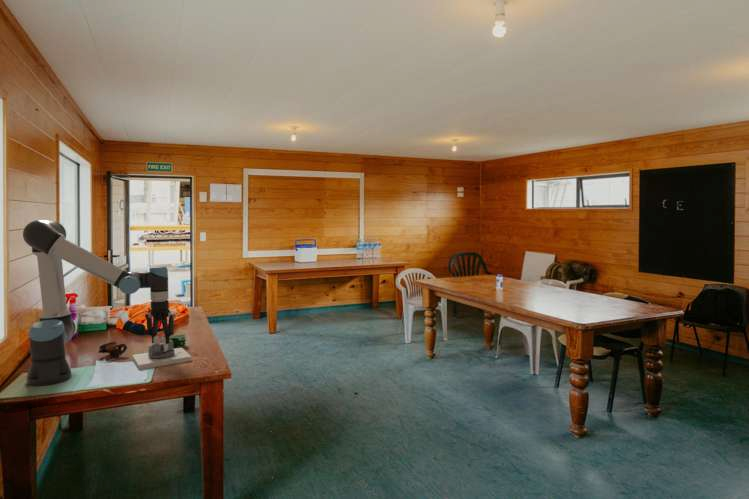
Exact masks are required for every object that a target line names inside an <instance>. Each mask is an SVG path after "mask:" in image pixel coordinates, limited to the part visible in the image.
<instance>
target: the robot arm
mask: <svg viewBox="0 0 749 499" xmlns="http://www.w3.org/2000/svg"><path fill="white" fill-rule="evenodd" d="M22 237H23V238H22V239H23V240H24V243H26V244H27V245H28V246H29V247H31V253H32V254H33V255H35V256H36V259H37V268H38V279H39V286H40V288H39V289H40V296H41V305H42V313H41V314H40V315H39V317H38V319H39V321H36V322H35V323H33V324H32V325H30V326H29V331H28V337H29V353H30V365H29V367H28V368H29V369H28V371H27V374H26V384H27V385H29V386H35V387H36V386H37V387H38V386H48V385H53V384H59V383H61V382H64V381H67V380H69V379H70V378H71V377H72V369H71V367H70V365H69V363H68V360H67V358H66V344H67V343H68V342H70V341H71V340H72V339H73V337H74V336H75V333H76V328H77V326H76V323H75V321H74V320H73V315H72V312H71V311H70V310H69V309H68V308H67V298H66V297H67V296H66V288H65V280H64V279H65V278H64V269H63V261H65V262H67V263H69V264H71V265H72V266H75V267H77V268H79V269H81V270H83V271H85V272H87V274H90V275H91V276H92V275H93V277H96V278H98V279H100V280H102V281H104V282H106V283H108V284H109V285H112V286H114V287H116V288H118V289H119V290H120V292H122V293H124V294H125V295H131V294H135V293H136V292H137V291H139V290H140V289H150V293H149V294H150V295H149V296H150V300H151V302H150V309H151V310H150V312H149V313H146V314H144V317H145V320H146V332H147V336H150V337H151V343H152V345H155V344H159V343H160V342H159V335H158V329H159V324H160V323H161V325H162V326H161V327H162V329H163V335H164V336H162V337H163V345H164V352H165V351H167V350H168V344H169V343H170V336H172V335H174V334H175V317H176V314H175V313H171V312H170V311H169V307H170V306H169V305H170V304H169V274H168V271H169V270H168V268H167V267H166V266H163V265H162V266H161V265H157V266H150V268H149V269H148V271H126V270H124V269H123V268H121V267H119V266H117V265H115V264H113V263H112V262H110V261H107V260H106V259H104V258H102V257H100V256H98V255H97V254H94V253H93V252H91V251H88V250H87V249H85V248H83V247H81V246H80V245H77V244H76V243H74V242H71V241H70V240H68V239H66V238H67V231H66V228H65V227H64V225H63V224H61V223H60V222H59V221H56V220H54V219H53V220H52V219H39V220H33V221H31V222H29V223H28V224H26V225H25V227H24V228H23V230H22ZM62 260H63V261H62Z"/></svg>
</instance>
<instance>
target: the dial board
mask: <svg viewBox="0 0 749 499" xmlns="http://www.w3.org/2000/svg"><path fill="white" fill-rule="evenodd" d="M148 353H149V352H144V353H136V354H132V355H131V359H132V362H133V363H134V364H135V365H136V366H135V367H137V369H138V370H144V369H149V368H150V369H151V368H156V367H162V366H168V365H173V364H180V363H185V362H192V356H191V355H190V353H188V352H187V350H185V349H184V348H183V347H180V348H179V347H174V355H173V356H171V357H168V358H163V359H151V358H149V357H148Z"/></svg>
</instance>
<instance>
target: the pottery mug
mask: <svg viewBox="0 0 749 499" xmlns="http://www.w3.org/2000/svg"><path fill="white" fill-rule="evenodd" d="M127 349H128V346H127V344H125V343H120V344H117V342H116V341H112V342H107V343H104V344H102V345H99V350H98V352H97V353H98V354H100V353H101V354H108V355H105V359H106V361H110V360H113V359H114V360H115V359H120V356H122V355H123V354H124V353H125V352H126V351H127Z"/></svg>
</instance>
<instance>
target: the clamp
mask: <svg viewBox="0 0 749 499" xmlns="http://www.w3.org/2000/svg"><path fill="white" fill-rule="evenodd" d="M163 337H164V336H160V343H162V342H163ZM186 339H187V338H186V336H185V334H184V333H182V334H175V335H174V334H173V335H171V336H170V340H172V341H173V347H174V348H181V347H184V346H185V345H186V341H187V340H186Z"/></svg>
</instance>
